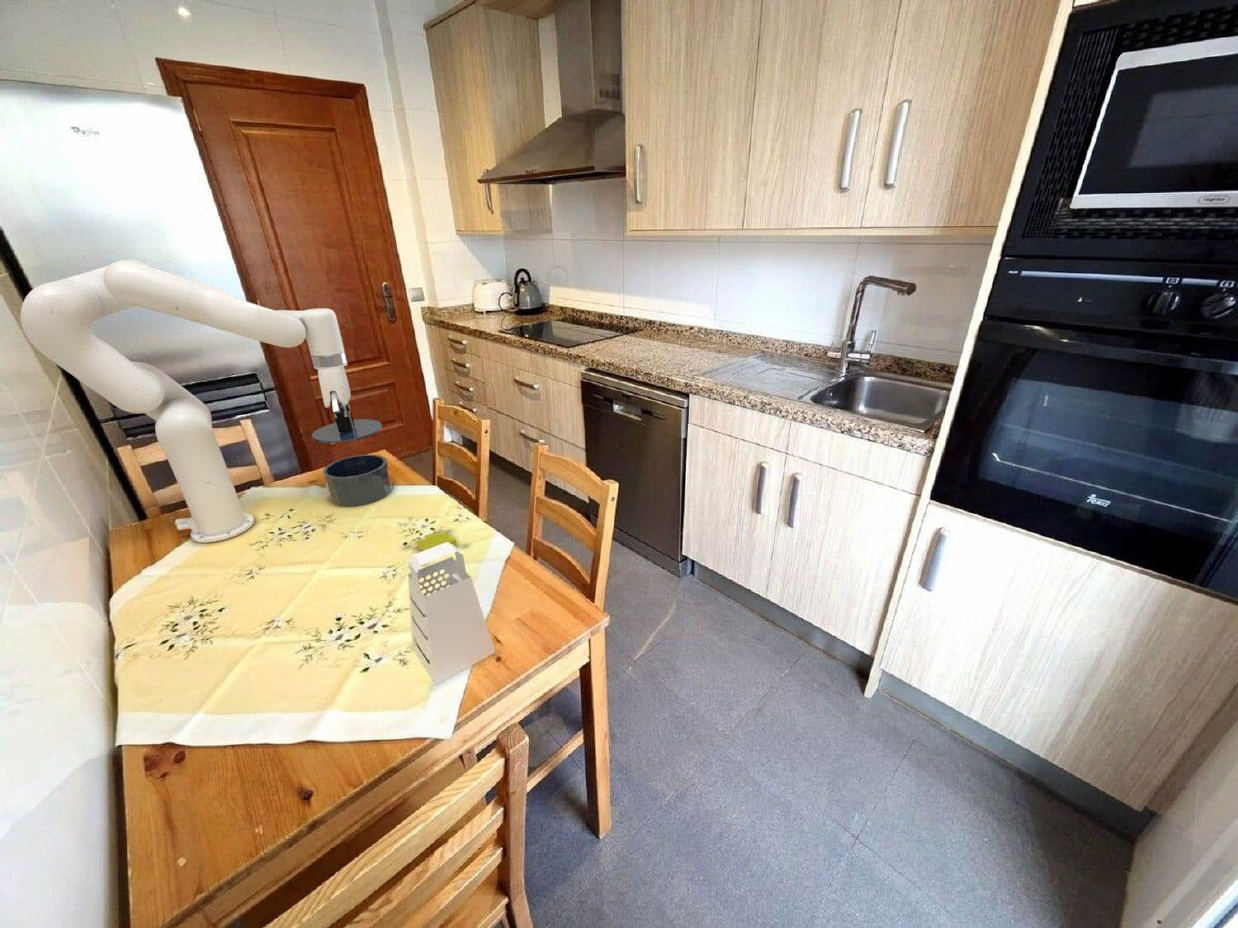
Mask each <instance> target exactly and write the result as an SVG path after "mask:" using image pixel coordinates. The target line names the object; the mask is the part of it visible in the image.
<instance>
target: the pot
mask: <svg viewBox="0 0 1238 928" xmlns="http://www.w3.org/2000/svg"><path fill="white" fill-rule="evenodd" d="M389 468H390V467H389V465H388V461H387V458H385V456H382V455H379V454H359V455H351V456H348V457H343V458H341V459H338V460H336V461H333V462H331V463H330V464H328V465H326V466H325V467H324V468H323V471H322V475H323V478H324V482H325V486H326V488H327V493H328V496H329V500H331V503H332V504H334V505H335V506H338V507H345V508H347V507H348V508H350V507H351V508H352V507H361V506H365V505H369V504H372V503H376V502H379V501H380V500H382V499H384V498H386V497H387V496H388V495H390V493H391V492H392V491H393V483H392V478H391V474H390V469H389Z"/></svg>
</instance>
